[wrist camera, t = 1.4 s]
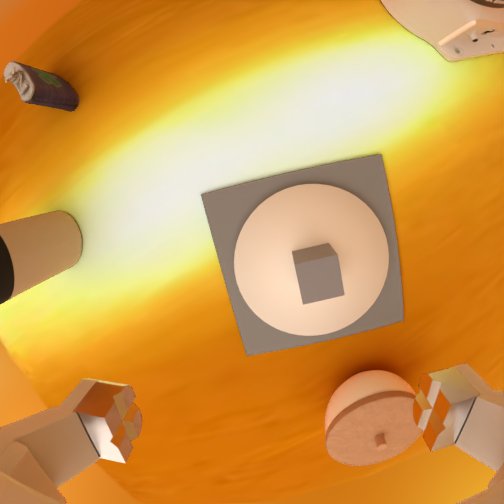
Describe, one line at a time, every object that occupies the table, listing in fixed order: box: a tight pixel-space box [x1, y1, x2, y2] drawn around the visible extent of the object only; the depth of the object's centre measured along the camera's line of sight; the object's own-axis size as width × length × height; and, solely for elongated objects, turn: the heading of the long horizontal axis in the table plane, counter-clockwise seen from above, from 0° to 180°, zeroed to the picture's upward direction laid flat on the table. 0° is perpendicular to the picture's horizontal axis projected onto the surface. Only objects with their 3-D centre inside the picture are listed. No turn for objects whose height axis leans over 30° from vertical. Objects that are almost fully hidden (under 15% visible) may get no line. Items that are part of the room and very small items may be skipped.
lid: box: [234, 184, 389, 336], centre depth 30 cm, size 17×17×6 cm
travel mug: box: [0, 211, 82, 304], centre depth 27 cm, size 8×8×18 cm
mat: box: [201, 154, 404, 356], centre depth 33 cm, size 20×20×1 cm
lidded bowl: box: [325, 370, 423, 466], centre depth 32 cm, size 13×13×11 cm
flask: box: [3, 61, 79, 111], centre depth 26 cm, size 9×3×11 cm, turn 47°
